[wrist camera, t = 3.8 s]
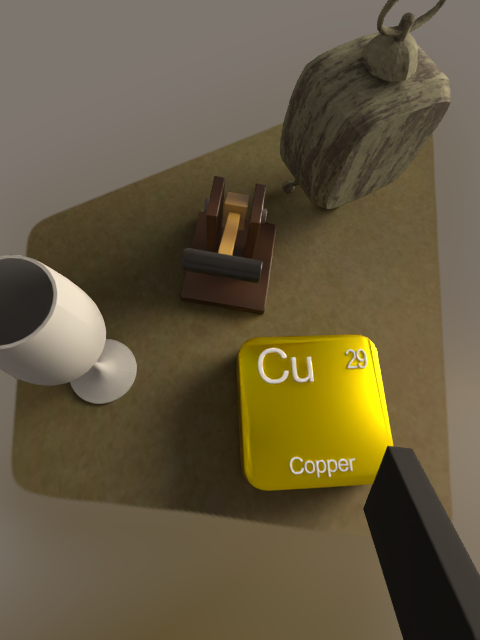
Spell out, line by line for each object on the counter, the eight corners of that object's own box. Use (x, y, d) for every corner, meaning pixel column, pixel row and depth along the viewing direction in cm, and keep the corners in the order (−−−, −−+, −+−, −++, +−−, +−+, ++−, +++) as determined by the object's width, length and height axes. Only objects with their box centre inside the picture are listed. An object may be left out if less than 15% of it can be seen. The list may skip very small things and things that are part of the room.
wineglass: (75, 335, 42) (-45, 237, 22) (142, 340, 43) (83, 247, 23) (61, 403, 40) (-87, 360, 20) (133, 407, 40) (58, 368, 20)
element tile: (241, 488, 38) (245, 493, 34) (235, 347, 43) (237, 335, 39) (381, 479, 40) (403, 483, 35) (360, 343, 44) (376, 331, 40)
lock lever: (257, 291, 29) (262, 265, 27) (180, 278, 29) (182, 251, 27) (264, 221, 38) (268, 198, 37) (206, 211, 38) (208, 188, 37)
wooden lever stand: (263, 314, 45) (282, 265, 33) (181, 300, 45) (170, 246, 33) (275, 229, 49) (296, 158, 37) (199, 216, 49) (196, 140, 36)
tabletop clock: (354, 151, 54) (466, -78, 30) (390, 198, 52) (541, -9, 28) (269, 186, 51) (319, -39, 27) (303, 238, 49) (390, 42, 25)
